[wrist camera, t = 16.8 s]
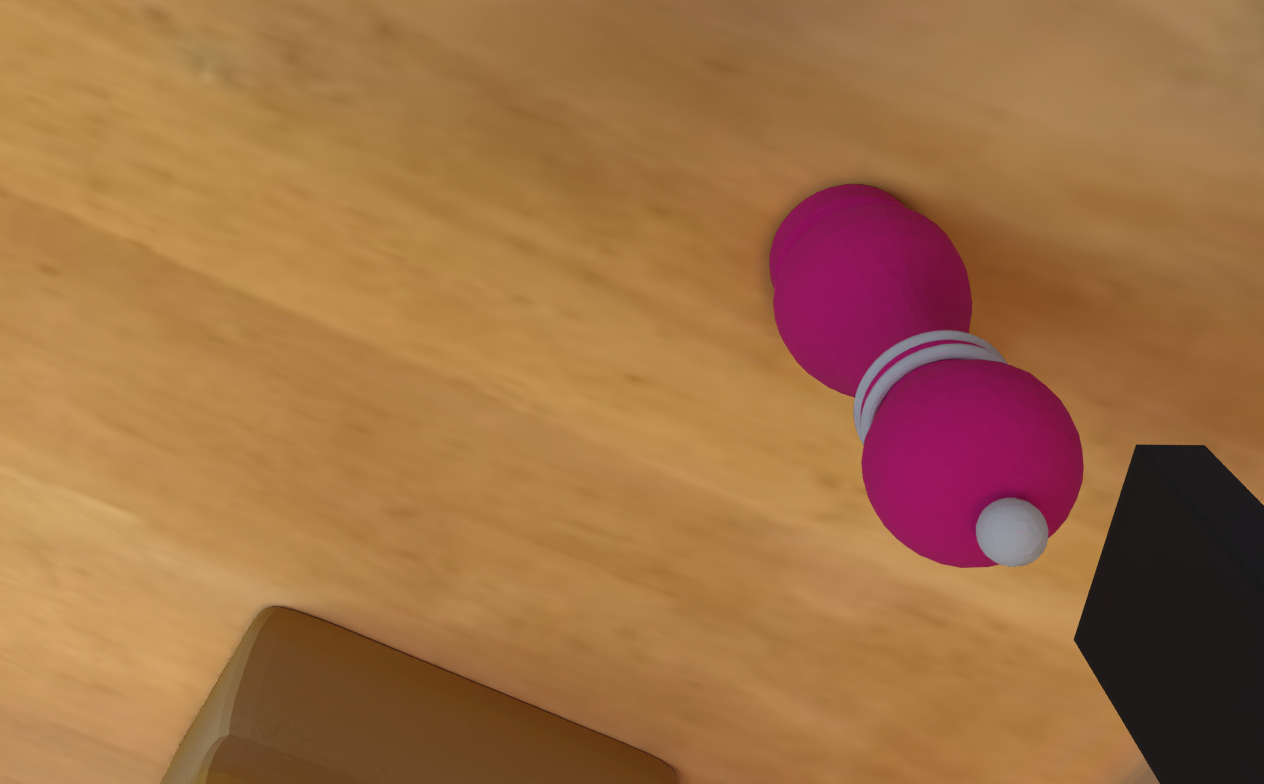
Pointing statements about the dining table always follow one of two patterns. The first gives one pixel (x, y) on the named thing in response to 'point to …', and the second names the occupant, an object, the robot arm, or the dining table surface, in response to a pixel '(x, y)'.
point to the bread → (379, 721)
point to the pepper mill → (923, 382)
